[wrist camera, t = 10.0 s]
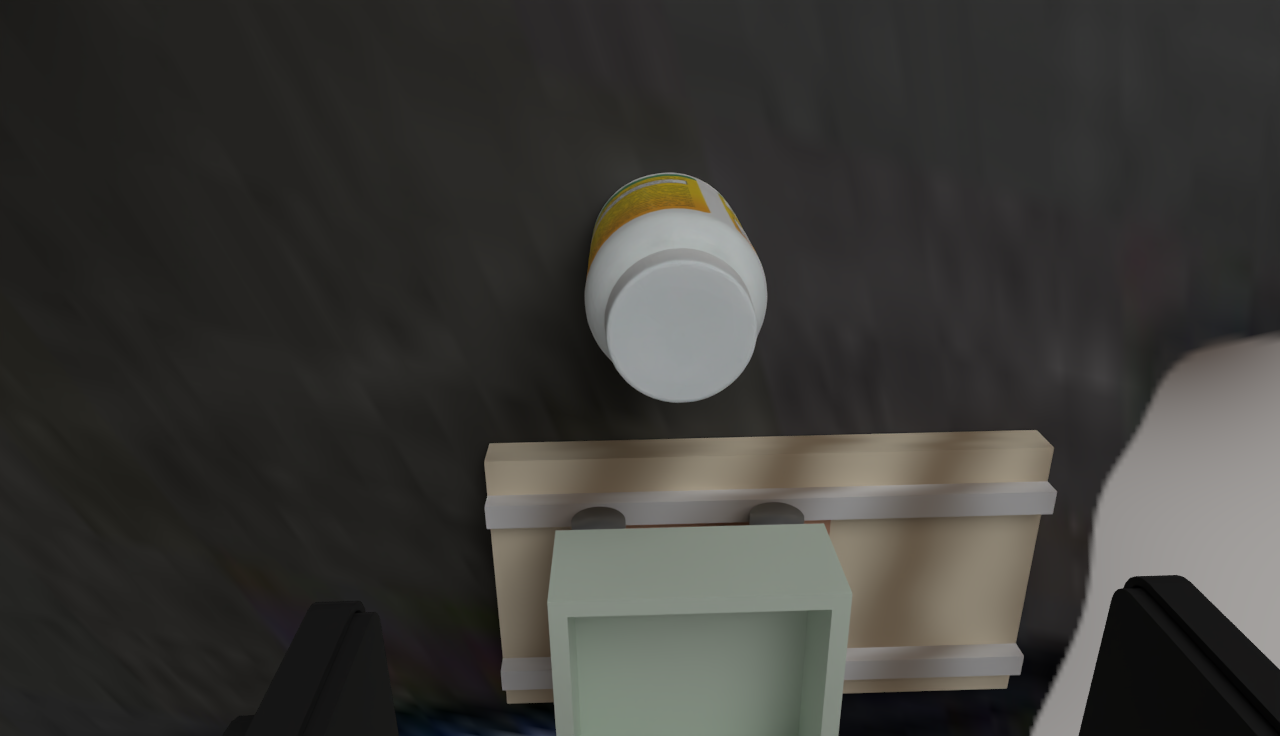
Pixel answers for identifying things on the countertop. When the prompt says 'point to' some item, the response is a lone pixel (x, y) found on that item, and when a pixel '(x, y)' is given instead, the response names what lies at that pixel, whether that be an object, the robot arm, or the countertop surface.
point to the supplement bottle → (674, 288)
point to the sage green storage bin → (697, 627)
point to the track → (825, 493)
